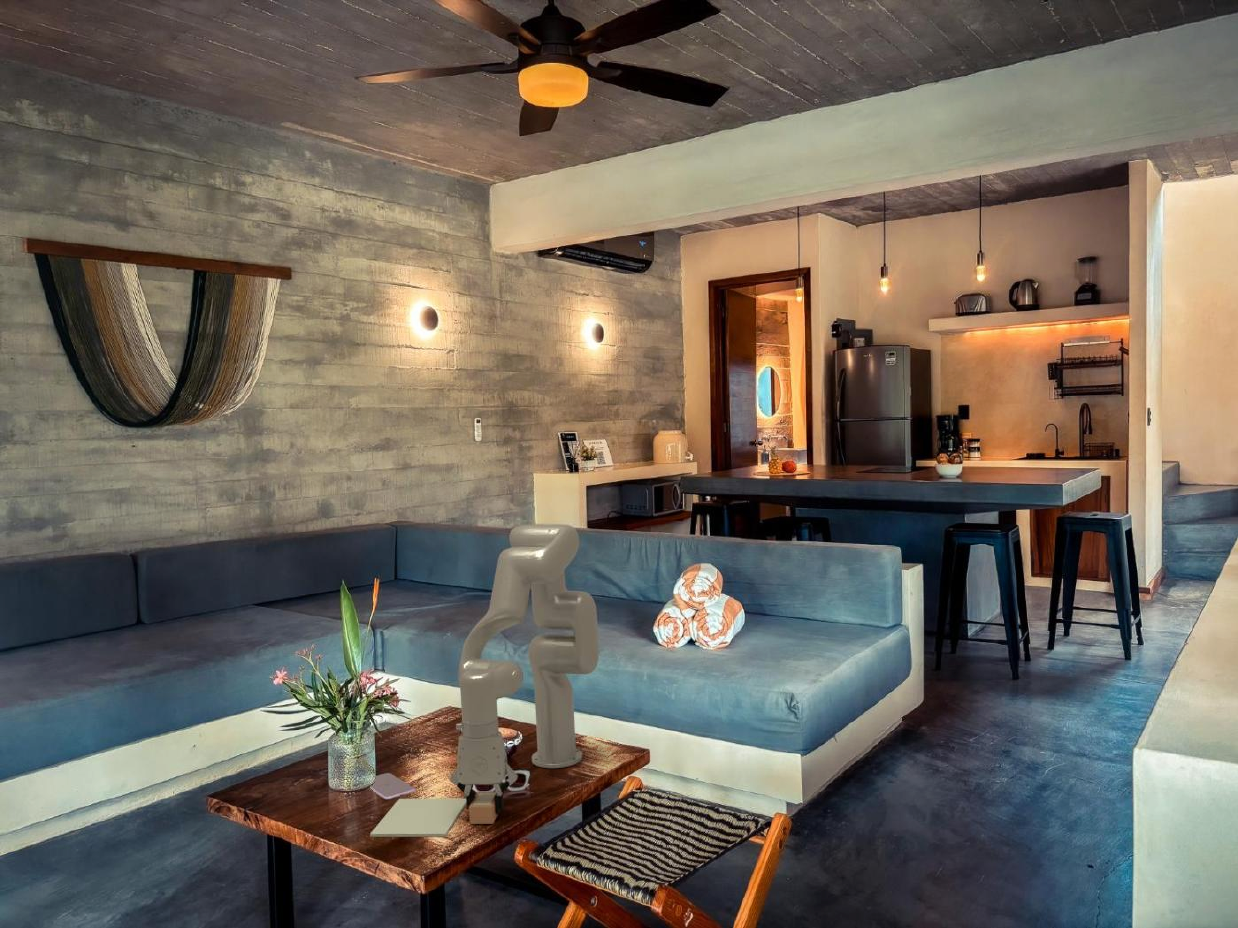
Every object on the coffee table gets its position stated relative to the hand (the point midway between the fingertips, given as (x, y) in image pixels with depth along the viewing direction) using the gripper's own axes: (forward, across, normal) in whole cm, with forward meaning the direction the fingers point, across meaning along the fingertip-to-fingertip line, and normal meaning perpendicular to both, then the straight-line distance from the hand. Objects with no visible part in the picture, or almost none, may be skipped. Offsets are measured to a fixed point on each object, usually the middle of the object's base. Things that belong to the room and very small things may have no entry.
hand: (485, 810), depth 198 cm
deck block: (+1, 0, 0) cm, 1 cm away
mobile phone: (+2, -28, +18) cm, 33 cm away
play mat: (+1, -14, 0) cm, 14 cm away
